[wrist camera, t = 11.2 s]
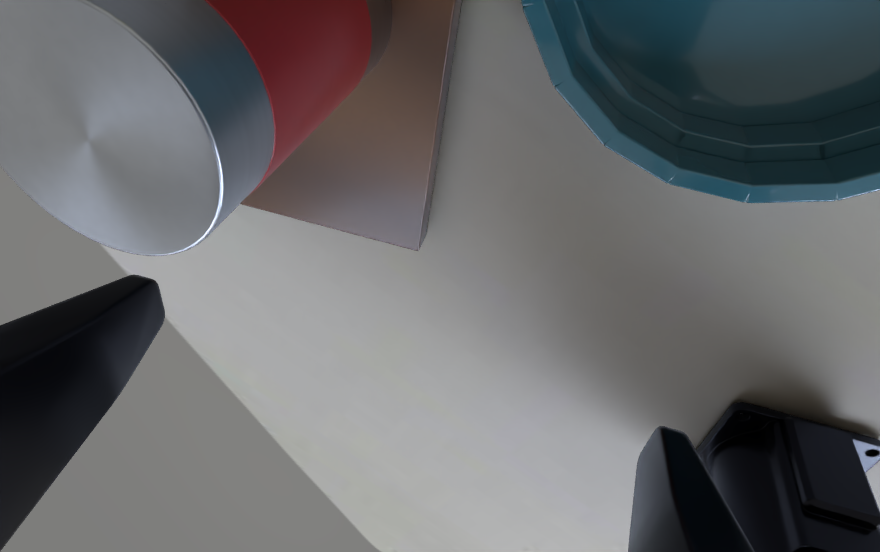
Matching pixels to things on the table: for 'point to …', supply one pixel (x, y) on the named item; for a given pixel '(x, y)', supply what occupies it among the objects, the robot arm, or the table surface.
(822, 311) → the table surface
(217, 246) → the table surface
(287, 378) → the table surface
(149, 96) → the can
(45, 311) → the robot arm
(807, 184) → the dish
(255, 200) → the board
